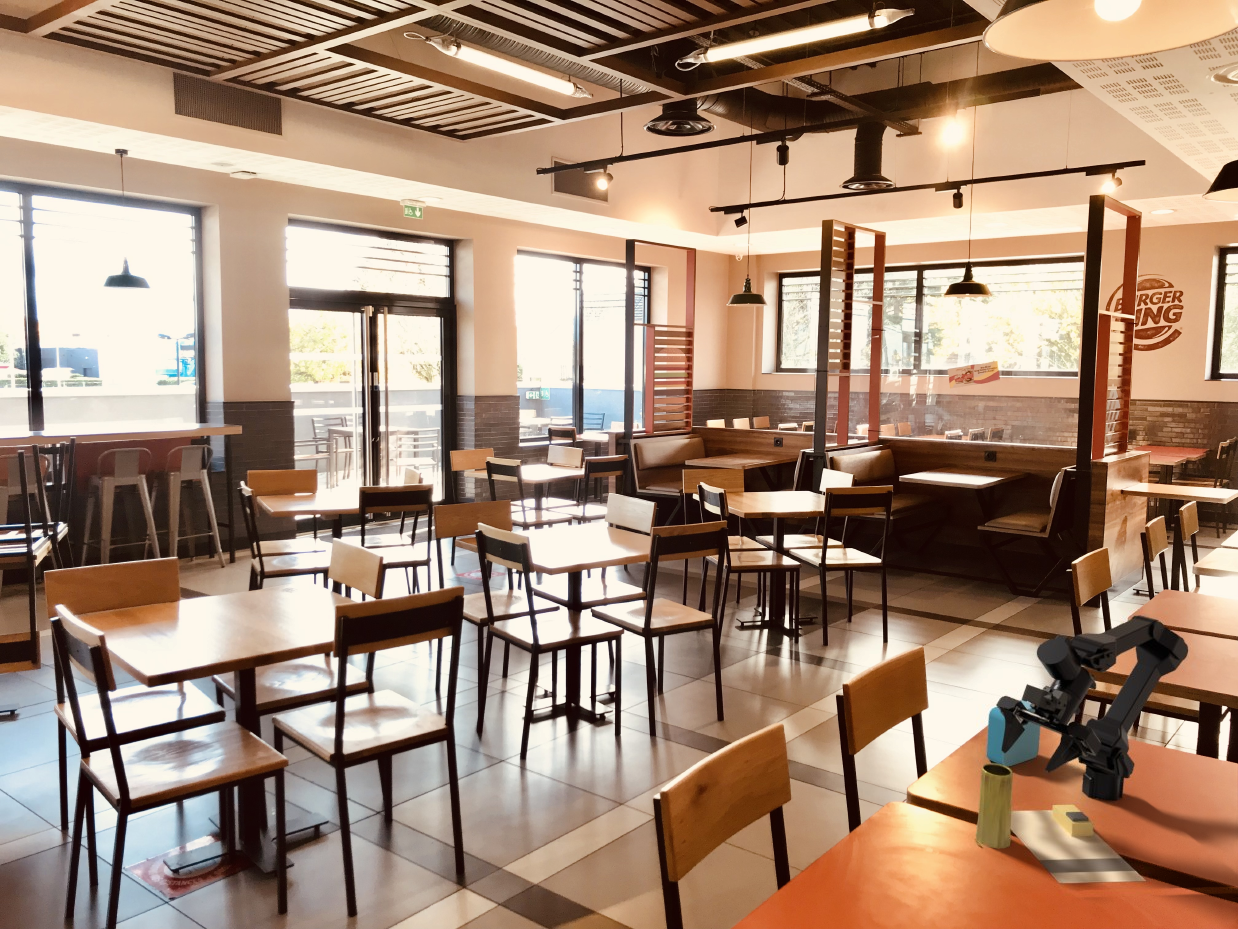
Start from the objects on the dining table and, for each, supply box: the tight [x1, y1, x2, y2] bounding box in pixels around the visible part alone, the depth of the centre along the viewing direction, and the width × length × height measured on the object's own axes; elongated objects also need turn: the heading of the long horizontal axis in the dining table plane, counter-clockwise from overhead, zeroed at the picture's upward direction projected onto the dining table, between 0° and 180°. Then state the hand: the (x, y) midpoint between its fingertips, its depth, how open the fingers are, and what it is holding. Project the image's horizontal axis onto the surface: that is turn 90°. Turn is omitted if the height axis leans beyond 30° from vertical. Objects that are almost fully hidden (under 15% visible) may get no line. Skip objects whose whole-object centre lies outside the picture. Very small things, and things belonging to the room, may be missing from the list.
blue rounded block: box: [986, 699, 1041, 768], centre depth 203 cm, size 12×4×12 cm, turn 120°
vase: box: [974, 762, 1014, 849], centre depth 168 cm, size 6×6×14 cm
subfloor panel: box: [1010, 809, 1147, 884], centre depth 168 cm, size 15×24×1 cm, turn 3°
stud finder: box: [1051, 804, 1094, 836], centre depth 174 cm, size 7×4×3 cm, turn 3°
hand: (1024, 761), depth 172 cm, fingers open, 9 cm apart
